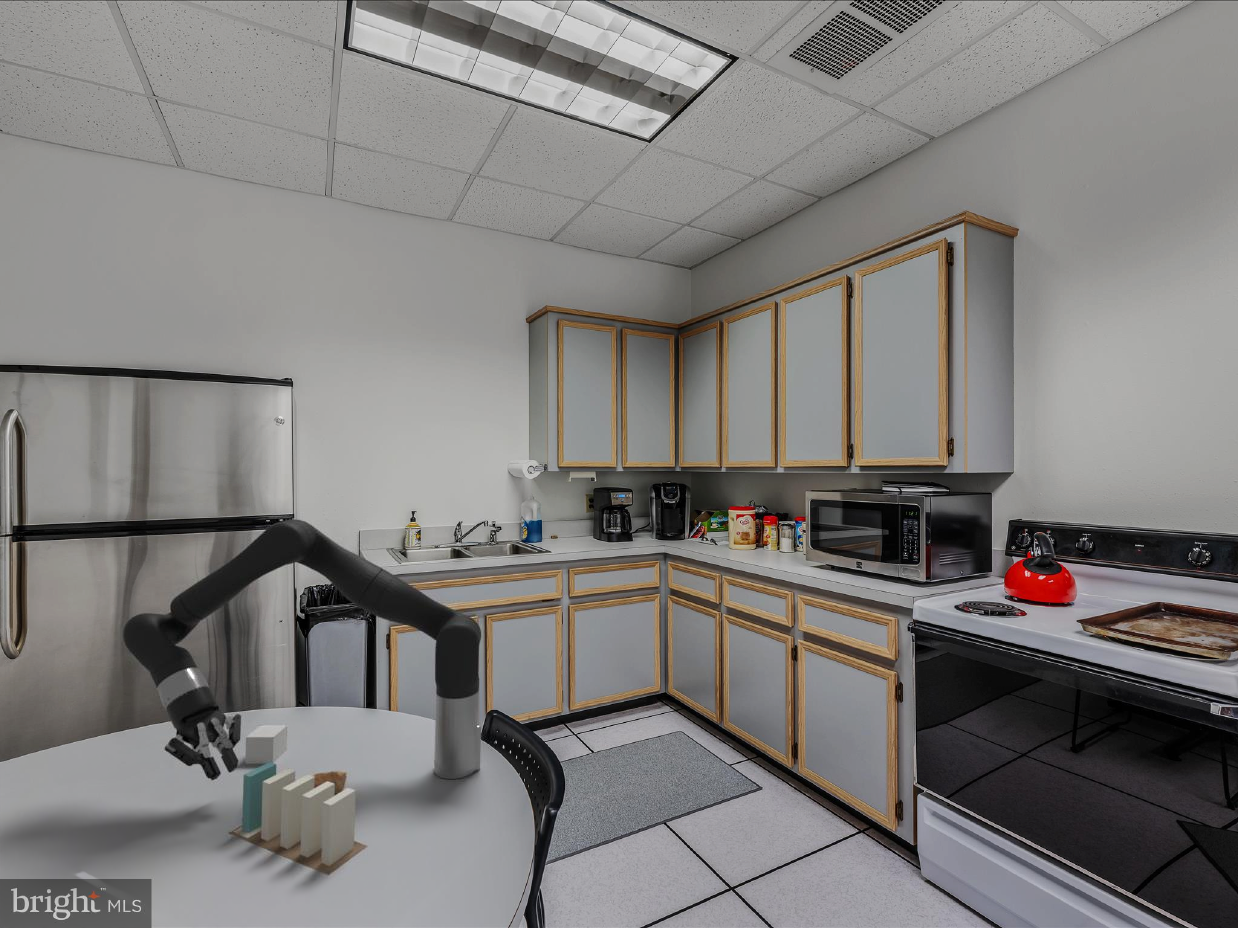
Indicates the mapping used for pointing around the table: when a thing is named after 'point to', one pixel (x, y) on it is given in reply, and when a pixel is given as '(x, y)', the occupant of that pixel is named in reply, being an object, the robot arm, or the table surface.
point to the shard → (331, 780)
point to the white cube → (266, 744)
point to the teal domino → (254, 795)
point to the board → (296, 850)
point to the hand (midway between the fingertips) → (225, 772)
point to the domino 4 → (338, 826)
